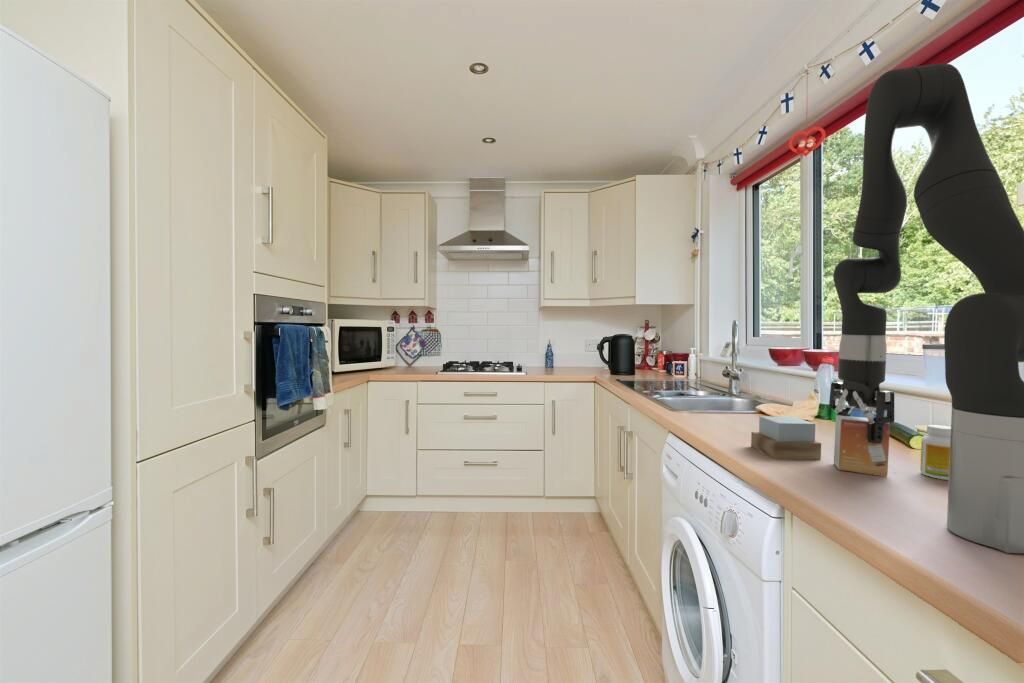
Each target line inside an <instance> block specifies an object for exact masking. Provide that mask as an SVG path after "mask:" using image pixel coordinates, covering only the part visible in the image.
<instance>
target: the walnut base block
mask: <svg viewBox="0 0 1024 683" xmlns="http://www.w3.org/2000/svg"><path fill="white" fill-rule="evenodd" d="M750 436H751V439H750V447H751V448H752V449H755V450H757V451H758V450H759V451H758V452H760V451H761V453H762V452H763V454H764V453H765V454H764V455H767V456H768V457H770V458H772V459H774V460H775V459H776V460H814V459H821V460H822V458H821V456H822V442H820V441H816V440H815V442H792V441H777V440H774V439H772V438H770V437H767V436H765V435H763V434H760V433H759V431H751V435H750Z"/></svg>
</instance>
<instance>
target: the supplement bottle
mask: <svg viewBox="0 0 1024 683" xmlns="http://www.w3.org/2000/svg"><path fill="white" fill-rule="evenodd" d="M926 433H927V435H924V436H923V437H922V438H921V443H920V444H921V447H920V448H921V449H920V474H921V475H923V476H925V475H926V476H925V477H928V476H929V477H928V478H933V479H936V478H937V480H941V481H942V480H944V481H949V459H950V436H951V426H945V425H941V424H927V425H926Z"/></svg>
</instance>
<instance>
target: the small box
mask: <svg viewBox="0 0 1024 683" xmlns="http://www.w3.org/2000/svg"><path fill="white" fill-rule="evenodd" d="M868 423H869V421H868V419H867V417H861V416H860V417H859V416H851V415H850V416H841V415H837V414H836V415H835V423H834V424H835V425H834V426H835V427H834V446H833V448H834V452H833V464H834V465H835V467H836V468H837V470H838V471H846V472H852V473H853V472H854V473H859V474H866V475H872V474H873V475H872V476H877V475H882V476H881V477H884V476H887V477H888V475H889V474H888V469H889V452H890V450H889V448H890V432H891V431H890V430H891V429H890V426H891V423H886V424H884V426H883V439H882V442H881V443H870V442H868Z"/></svg>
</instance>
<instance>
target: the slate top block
mask: <svg viewBox="0 0 1024 683" xmlns="http://www.w3.org/2000/svg"><path fill="white" fill-rule="evenodd" d="M758 422H759V423H758V429H759V430H758V432H759V433H760V434H763V435H765V436H767V437H770V438H772V439H774V440H777V441H792V442H815V441H816V423H814V422H812V421H808V420H805V419H802V418H799V417H796V416H772V415H771V416H769V415H768V416H767V415H765V416H761V415H759V421H758Z"/></svg>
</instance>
